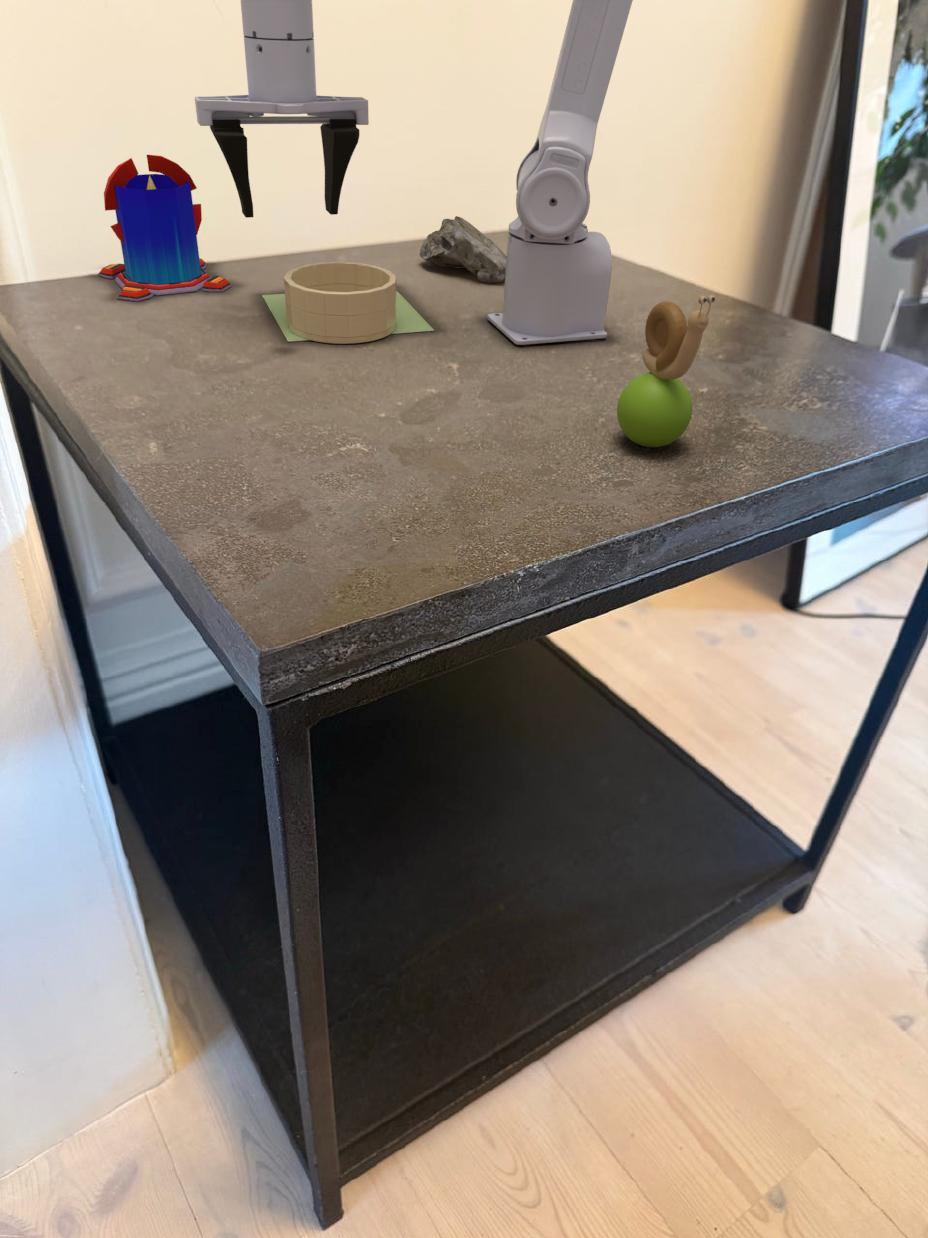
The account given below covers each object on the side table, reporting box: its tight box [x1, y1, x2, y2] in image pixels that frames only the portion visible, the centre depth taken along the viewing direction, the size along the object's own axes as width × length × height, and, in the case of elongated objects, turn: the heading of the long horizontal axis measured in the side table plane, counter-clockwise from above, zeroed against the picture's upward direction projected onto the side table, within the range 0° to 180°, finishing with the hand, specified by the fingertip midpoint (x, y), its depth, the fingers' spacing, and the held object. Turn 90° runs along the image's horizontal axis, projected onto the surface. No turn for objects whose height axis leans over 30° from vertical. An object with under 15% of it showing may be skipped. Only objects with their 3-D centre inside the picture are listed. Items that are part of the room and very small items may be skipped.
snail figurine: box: [616, 294, 716, 448], centre depth 65 cm, size 5×6×12 cm
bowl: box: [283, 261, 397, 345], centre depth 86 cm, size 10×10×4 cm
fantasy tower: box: [97, 154, 233, 303], centre depth 93 cm, size 12×12×12 cm
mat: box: [261, 289, 435, 343], centre depth 90 cm, size 14×14×1 cm
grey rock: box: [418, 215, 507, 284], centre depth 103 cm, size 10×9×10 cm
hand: (290, 213), depth 83 cm, fingers open, 7 cm apart
